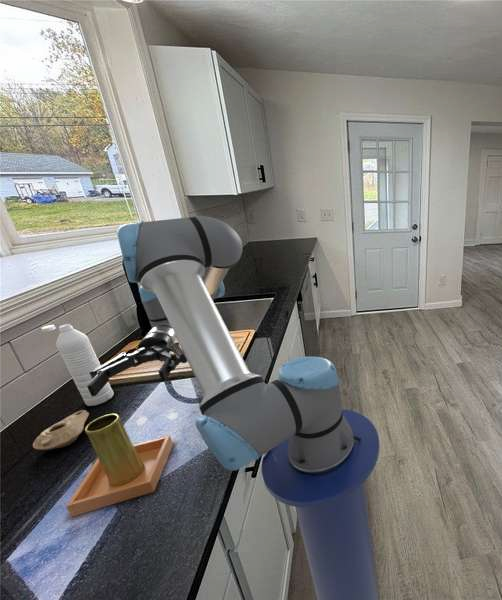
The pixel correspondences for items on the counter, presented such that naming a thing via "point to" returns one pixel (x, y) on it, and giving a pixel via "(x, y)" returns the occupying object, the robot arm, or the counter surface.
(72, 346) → the water bottle
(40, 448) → the pottery oil lamp
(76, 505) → the wooden tray
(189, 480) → the counter surface
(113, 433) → the vase
